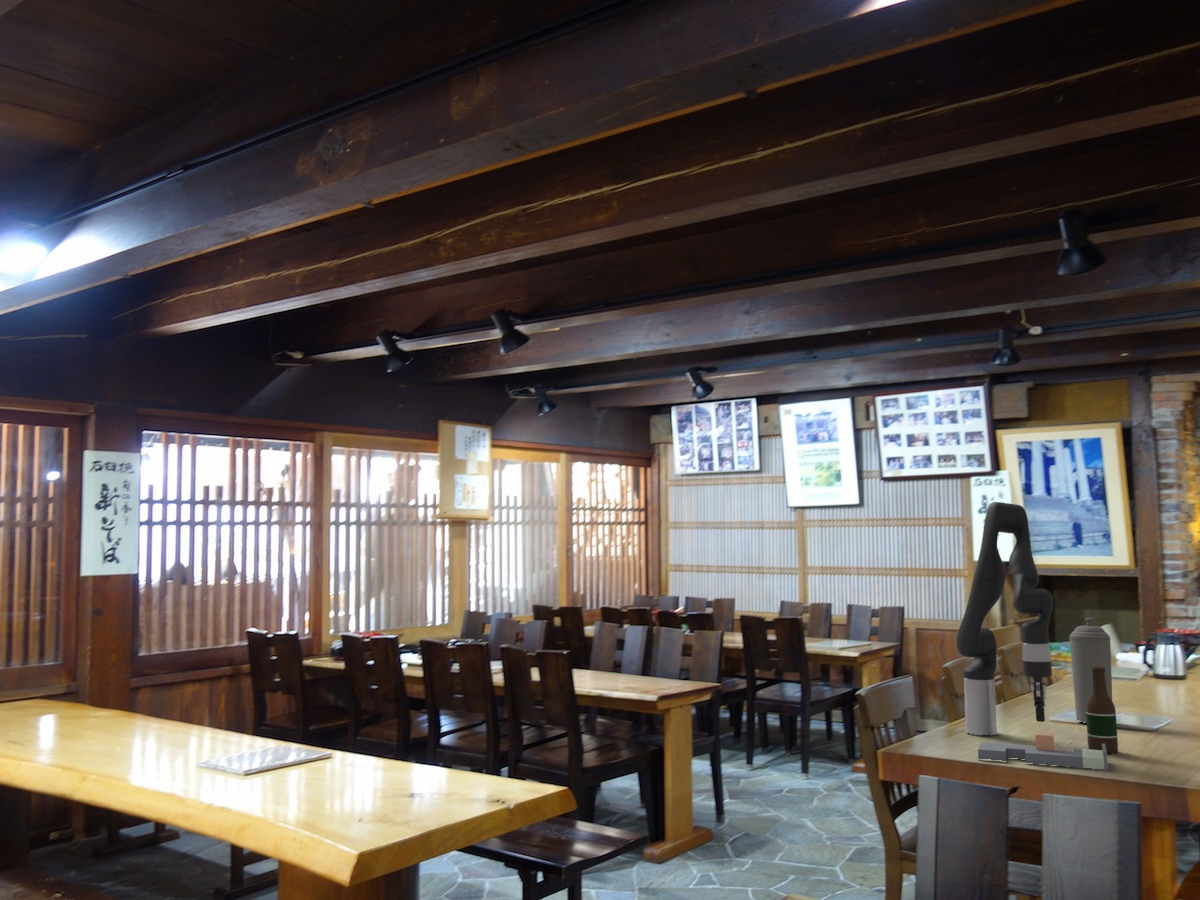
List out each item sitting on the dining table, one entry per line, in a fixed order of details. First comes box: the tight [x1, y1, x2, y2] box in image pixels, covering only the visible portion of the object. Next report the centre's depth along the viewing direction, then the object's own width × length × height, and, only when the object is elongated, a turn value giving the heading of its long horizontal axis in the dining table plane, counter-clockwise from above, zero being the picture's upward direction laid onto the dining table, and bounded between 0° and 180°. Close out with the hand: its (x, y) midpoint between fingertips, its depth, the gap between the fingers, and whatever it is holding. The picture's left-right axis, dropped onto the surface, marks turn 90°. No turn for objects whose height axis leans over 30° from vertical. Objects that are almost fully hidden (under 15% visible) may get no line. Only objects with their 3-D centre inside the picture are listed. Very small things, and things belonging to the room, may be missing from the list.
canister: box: [1068, 617, 1113, 723], centre depth 331 cm, size 13×13×35 cm
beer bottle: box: [1086, 666, 1119, 754], centre depth 283 cm, size 8×8×24 cm
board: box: [977, 741, 1109, 771], centre depth 269 cm, size 12×32×5 cm, turn 65°
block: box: [1034, 731, 1055, 751], centre depth 271 cm, size 4×4×4 cm
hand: (1040, 721), depth 279 cm, fingers closed
